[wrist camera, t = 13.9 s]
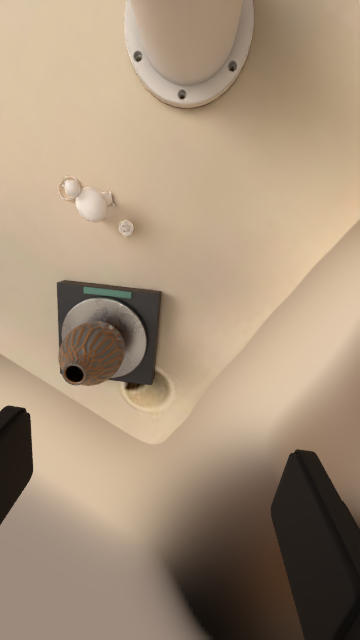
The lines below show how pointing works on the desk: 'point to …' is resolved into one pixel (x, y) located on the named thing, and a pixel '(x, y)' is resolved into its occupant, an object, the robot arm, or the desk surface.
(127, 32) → the robot arm
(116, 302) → the scale pan
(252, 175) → the desk surface
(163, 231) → the desk surface
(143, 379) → the scale
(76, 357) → the vase
